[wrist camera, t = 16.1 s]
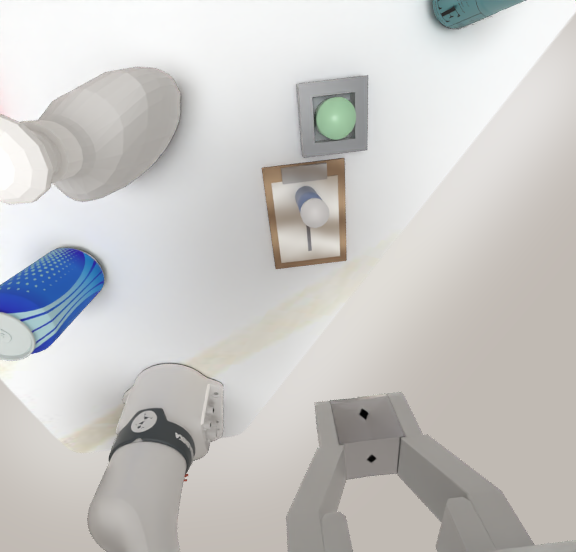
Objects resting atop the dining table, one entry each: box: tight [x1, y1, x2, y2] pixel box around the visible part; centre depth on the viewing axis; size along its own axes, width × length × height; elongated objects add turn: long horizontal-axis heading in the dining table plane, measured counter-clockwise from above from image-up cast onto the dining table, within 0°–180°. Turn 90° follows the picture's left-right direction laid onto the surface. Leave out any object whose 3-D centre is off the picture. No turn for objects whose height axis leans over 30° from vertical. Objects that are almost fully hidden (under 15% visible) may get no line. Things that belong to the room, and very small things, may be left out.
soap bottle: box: [0, 67, 181, 205], centre depth 28 cm, size 14×8×27 cm, turn 139°
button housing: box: [297, 75, 368, 158], centre depth 39 cm, size 8×8×2 cm
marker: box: [295, 186, 329, 228], centre depth 39 cm, size 3×3×10 cm
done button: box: [314, 97, 356, 140], centre depth 38 cm, size 4×4×4 cm
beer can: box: [0, 248, 104, 361], centre depth 41 cm, size 8×8×16 cm
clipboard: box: [262, 158, 346, 269], centre depth 45 cm, size 15×11×1 cm
